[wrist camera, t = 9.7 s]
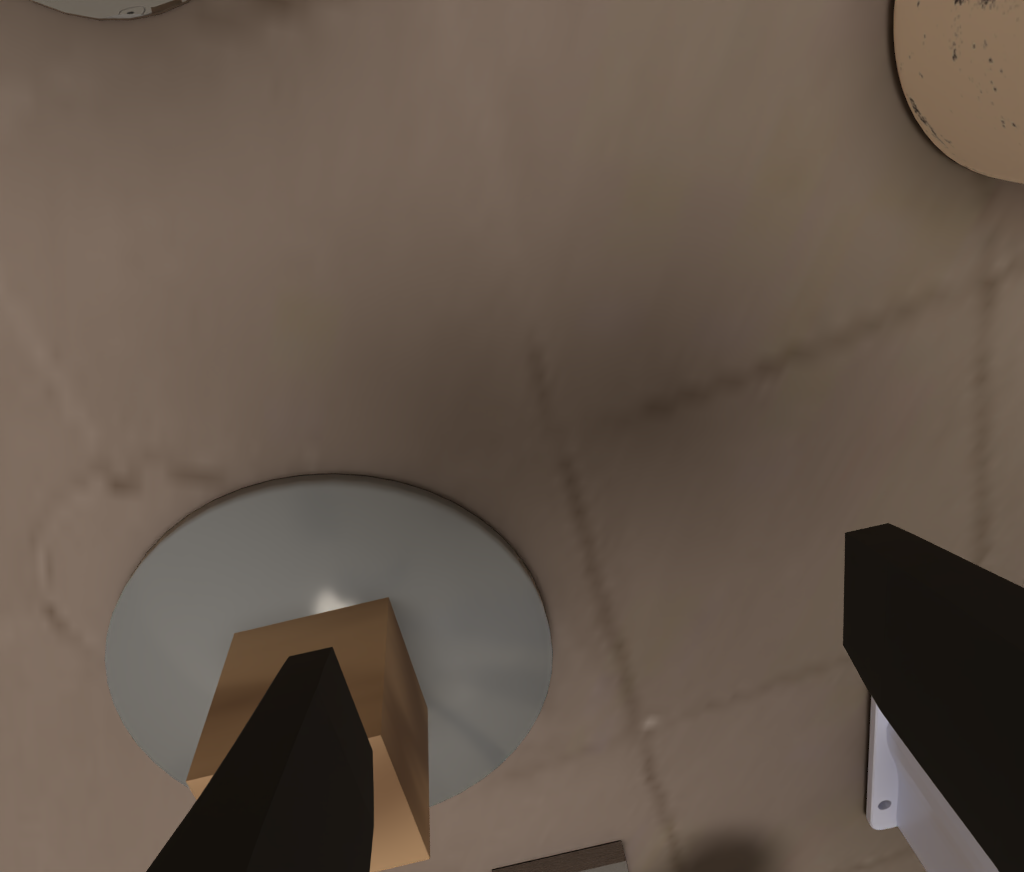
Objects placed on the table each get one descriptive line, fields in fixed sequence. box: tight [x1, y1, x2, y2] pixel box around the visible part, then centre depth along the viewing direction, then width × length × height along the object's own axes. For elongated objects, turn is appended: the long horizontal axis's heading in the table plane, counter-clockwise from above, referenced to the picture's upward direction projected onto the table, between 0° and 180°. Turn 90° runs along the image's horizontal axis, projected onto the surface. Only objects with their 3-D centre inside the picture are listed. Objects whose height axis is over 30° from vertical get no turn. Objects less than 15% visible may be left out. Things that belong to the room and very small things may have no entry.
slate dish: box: [105, 474, 553, 807], centre depth 23 cm, size 13×13×1 cm
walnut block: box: [186, 597, 430, 872], centre depth 20 cm, size 4×4×5 cm
